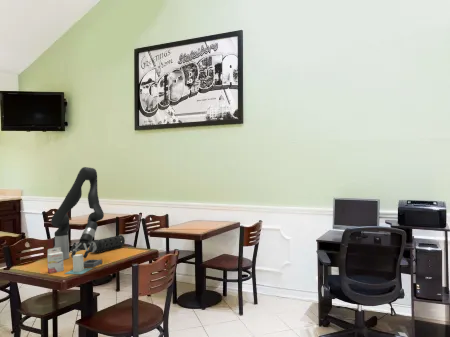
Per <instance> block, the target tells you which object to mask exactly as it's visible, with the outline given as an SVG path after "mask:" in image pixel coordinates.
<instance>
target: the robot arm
mask: <svg viewBox="0 0 450 337" xmlns="http://www.w3.org/2000/svg"><path fill="white" fill-rule="evenodd" d="M86 181H89V185H90V186H89V191H88V194H87V202H88V207H89V208H90V209H91V210H93V212H91V213H90V214H89V215H88V217H87V222H86V223H87V224H86V226H85V228H84V229H83V231H82V234H81V236H80V238H79V241H78V243H76V242H74V243H73V244H72V246H71V248H70V245H69V244H70V243H69V241H70V240H69V231H70V217H69V215H68V213H69V212H70V211H71V210H72V209H73V208H74V207H75V206H76V205H77V204H78V202H79V201H80V199H81V198H82V195H83V193H82V192H83V191H82V188H83V185H84V184H85V182H86ZM104 215H105V214H104V210H103V208H102V206H101V204H100V200H99V195H98V173H97V170H96V168H94V167H90V166H89V167H87V166H83V167H81V169H80V170H79V172H78V173H77V175H76V178H75V180H74V183H73V184H72V186H71V187H70V189H69V191H68V192H67V193H66V196H65V198H64V200H63V201H62V202H61V204H60V205H59V207H58V209H57V210H56V211H55V212H54V214H53V215H52V217H51V220H50V222H51V225H52V226H53V227H54V228H57V229H56V231H55V232H54V246H53V248H59V247H61V252H63V260H68V259H70V257H71V259H73V256H74V255H76V253H78V252H79V251H84V253H83V259H86V258H87V257H88V255H89V254H90V253H93V252H92V251H93V248H94V244H93V243H91V242H92V241H93V239H94V237H95V235H96V231H97V229H98V223H97V222H99V221H101V220H103V219H104ZM89 246H90V248H89ZM53 251H56V250H55V249H54V250H53ZM70 251H71V255H70Z"/></svg>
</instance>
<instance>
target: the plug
mask: <svg viewBox="0 0 450 337" xmlns="http://www.w3.org/2000/svg"><path fill="white" fill-rule="evenodd" d="M83 256H84V253H82V254H81V253H79V254H75V255H74V256H73V258H72V270H73V272H81V271H83V270H84V268H85V267H84V257H83Z"/></svg>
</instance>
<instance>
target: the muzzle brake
mask: <svg viewBox="0 0 450 337" xmlns="http://www.w3.org/2000/svg"><path fill="white" fill-rule="evenodd" d="M125 241H126V240H125V237H124V236H123V235H121V234H119V235H115V236H110V237H106V238H100V239H95V240H92V242H91V243H93V244H94V248H93V251H92V252H91V253H95V254H96V253H103V252H104V251H111V250H115V249H119V248H122V247H123V246H124V245H125ZM89 248H90V246H89V247H88V249H89Z"/></svg>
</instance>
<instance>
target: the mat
mask: <svg viewBox="0 0 450 337" xmlns="http://www.w3.org/2000/svg"><path fill="white" fill-rule="evenodd" d="M91 270H93V267H84V270H83V271H81V272H73V269H71V270H69V271H66V272H64V274H63V275H84V274H85V273H88V272H89V271H91Z"/></svg>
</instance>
